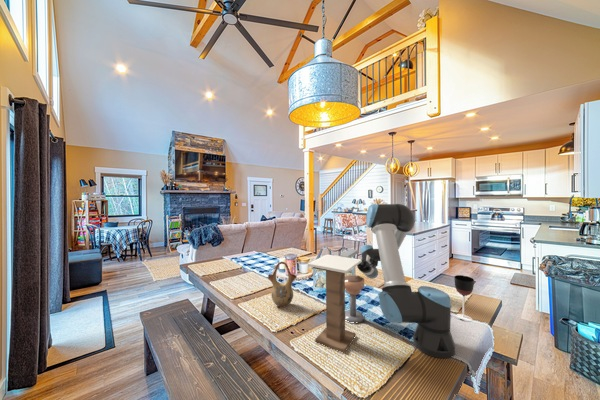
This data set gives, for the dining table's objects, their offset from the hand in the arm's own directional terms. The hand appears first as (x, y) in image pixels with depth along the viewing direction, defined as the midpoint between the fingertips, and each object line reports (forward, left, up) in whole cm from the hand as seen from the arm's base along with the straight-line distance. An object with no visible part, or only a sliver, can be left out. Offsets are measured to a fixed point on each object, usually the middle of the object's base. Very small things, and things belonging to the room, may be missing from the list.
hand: (353, 255), depth 122 cm
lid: (-5, +15, +2) cm, 16 cm away
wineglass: (-38, -38, -31) cm, 62 cm away
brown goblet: (-1, +2, -31) cm, 31 cm away
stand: (-6, +22, -31) cm, 39 cm away
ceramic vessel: (+34, +20, -31) cm, 50 cm away
